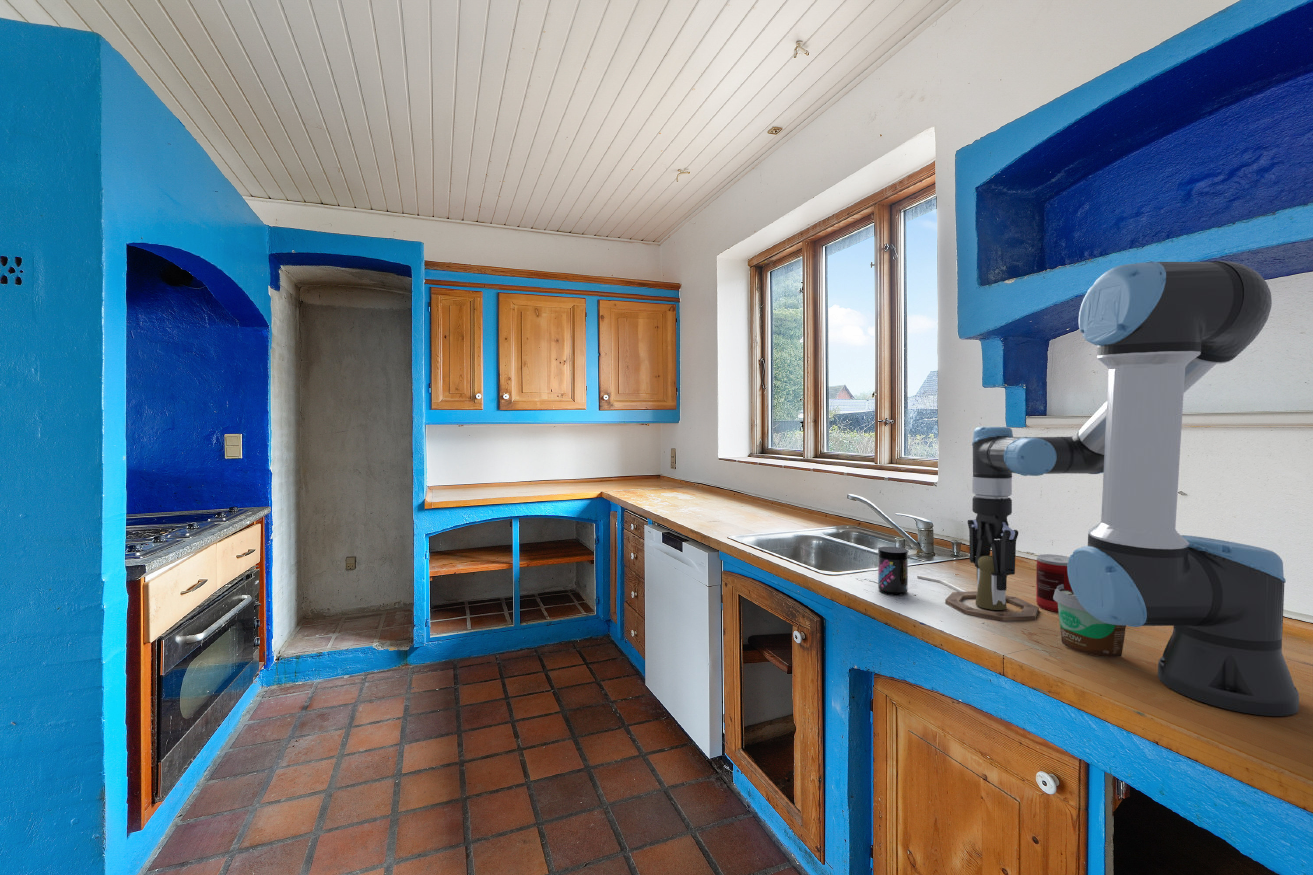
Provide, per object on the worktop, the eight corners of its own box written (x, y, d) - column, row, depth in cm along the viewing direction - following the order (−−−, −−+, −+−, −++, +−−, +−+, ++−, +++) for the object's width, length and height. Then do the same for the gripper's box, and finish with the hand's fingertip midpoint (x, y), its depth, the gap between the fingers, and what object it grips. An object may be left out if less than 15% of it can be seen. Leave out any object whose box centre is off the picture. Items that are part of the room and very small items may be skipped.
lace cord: (967, 594, 134) (967, 591, 134) (950, 594, 133) (950, 592, 133) (931, 576, 149) (931, 574, 149) (916, 577, 148) (916, 575, 148)
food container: (1036, 638, 107) (1037, 586, 106) (1059, 634, 109) (1060, 583, 108) (1107, 665, 95) (1108, 607, 95) (1131, 659, 97) (1132, 602, 97)
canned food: (1073, 604, 126) (1073, 555, 126) (1082, 615, 119) (1083, 564, 118) (1032, 599, 129) (1033, 552, 129) (1039, 610, 122) (1040, 560, 122)
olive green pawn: (1012, 609, 122) (1013, 559, 121) (984, 609, 122) (985, 560, 121) (996, 600, 128) (997, 553, 127) (969, 600, 128) (970, 553, 127)
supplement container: (877, 586, 141) (877, 545, 140) (906, 589, 138) (907, 547, 138) (878, 594, 134) (878, 551, 134) (908, 597, 132) (909, 553, 132)
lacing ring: (1056, 618, 117) (1057, 614, 117) (980, 622, 116) (980, 618, 116) (1000, 593, 134) (1000, 590, 134) (932, 596, 132) (932, 592, 132)
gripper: (1037, 501, 116) (1035, 612, 116) (982, 490, 133) (981, 588, 134) (1002, 502, 115) (1001, 614, 116) (952, 491, 132) (951, 589, 133)
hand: (991, 600), depth 125 cm, fingers closed on olive green pawn, 4 cm apart
